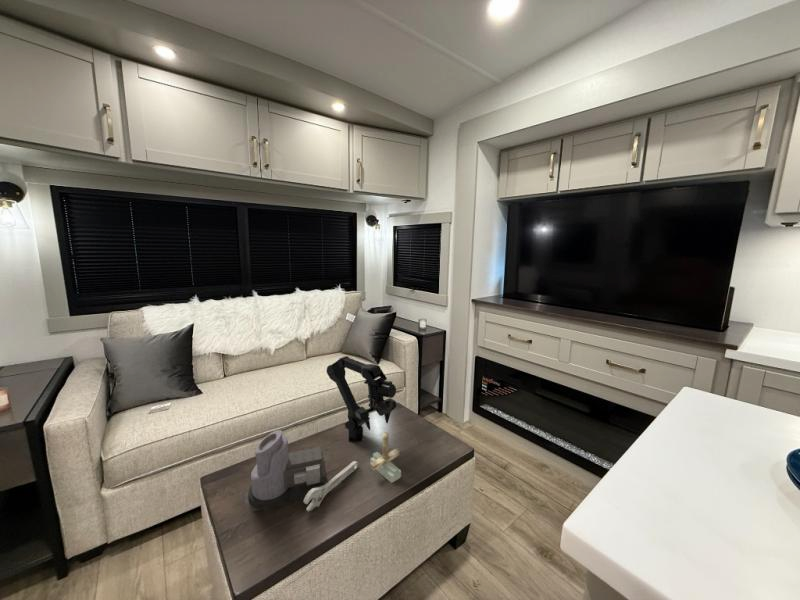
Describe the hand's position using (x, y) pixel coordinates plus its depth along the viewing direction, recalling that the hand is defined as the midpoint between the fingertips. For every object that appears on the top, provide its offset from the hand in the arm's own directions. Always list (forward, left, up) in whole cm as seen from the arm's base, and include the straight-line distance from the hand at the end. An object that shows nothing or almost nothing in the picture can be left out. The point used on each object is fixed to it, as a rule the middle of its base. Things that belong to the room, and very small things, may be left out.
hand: (378, 426), depth 142 cm
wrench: (-18, -22, -12) cm, 31 cm away
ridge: (+2, -14, -12) cm, 18 cm away
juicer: (-36, -20, -12) cm, 43 cm away
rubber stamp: (+2, -14, -7) cm, 16 cm away
